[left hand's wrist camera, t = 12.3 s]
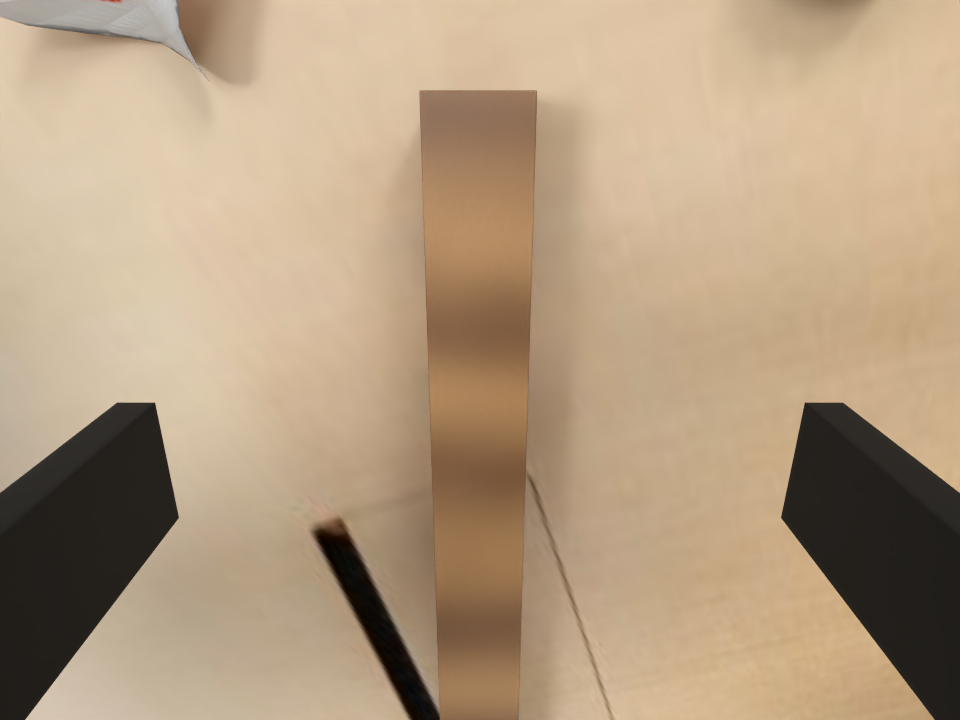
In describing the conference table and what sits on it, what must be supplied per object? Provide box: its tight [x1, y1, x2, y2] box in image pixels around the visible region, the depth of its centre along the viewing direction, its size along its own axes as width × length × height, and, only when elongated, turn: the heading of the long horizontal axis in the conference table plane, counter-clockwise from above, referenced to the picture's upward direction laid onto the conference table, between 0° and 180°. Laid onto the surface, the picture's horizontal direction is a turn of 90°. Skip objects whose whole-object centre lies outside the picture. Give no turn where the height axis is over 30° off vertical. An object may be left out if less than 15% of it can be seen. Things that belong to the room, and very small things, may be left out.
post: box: [420, 91, 537, 720], centre depth 40 cm, size 57×5×8 cm, turn 0°
